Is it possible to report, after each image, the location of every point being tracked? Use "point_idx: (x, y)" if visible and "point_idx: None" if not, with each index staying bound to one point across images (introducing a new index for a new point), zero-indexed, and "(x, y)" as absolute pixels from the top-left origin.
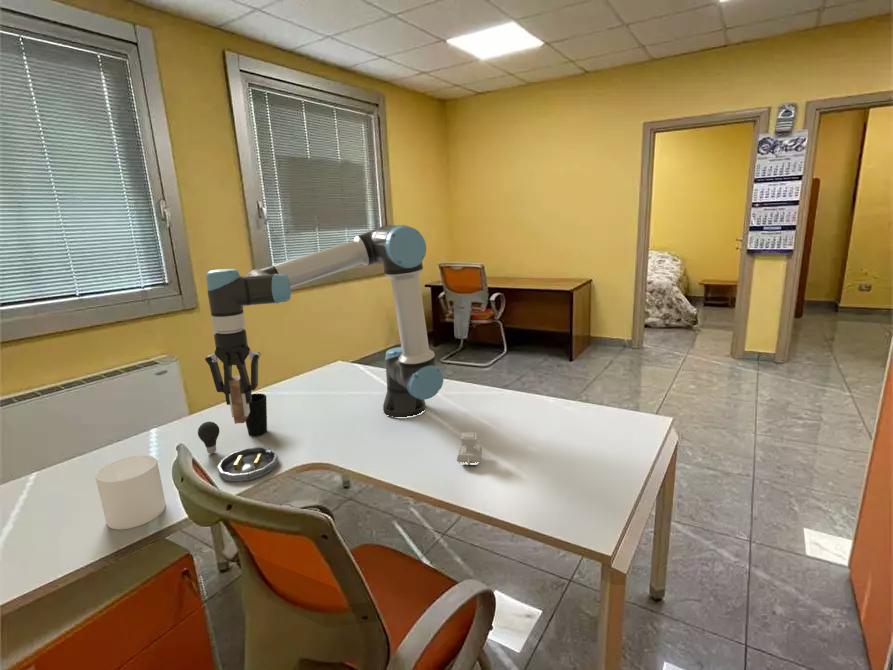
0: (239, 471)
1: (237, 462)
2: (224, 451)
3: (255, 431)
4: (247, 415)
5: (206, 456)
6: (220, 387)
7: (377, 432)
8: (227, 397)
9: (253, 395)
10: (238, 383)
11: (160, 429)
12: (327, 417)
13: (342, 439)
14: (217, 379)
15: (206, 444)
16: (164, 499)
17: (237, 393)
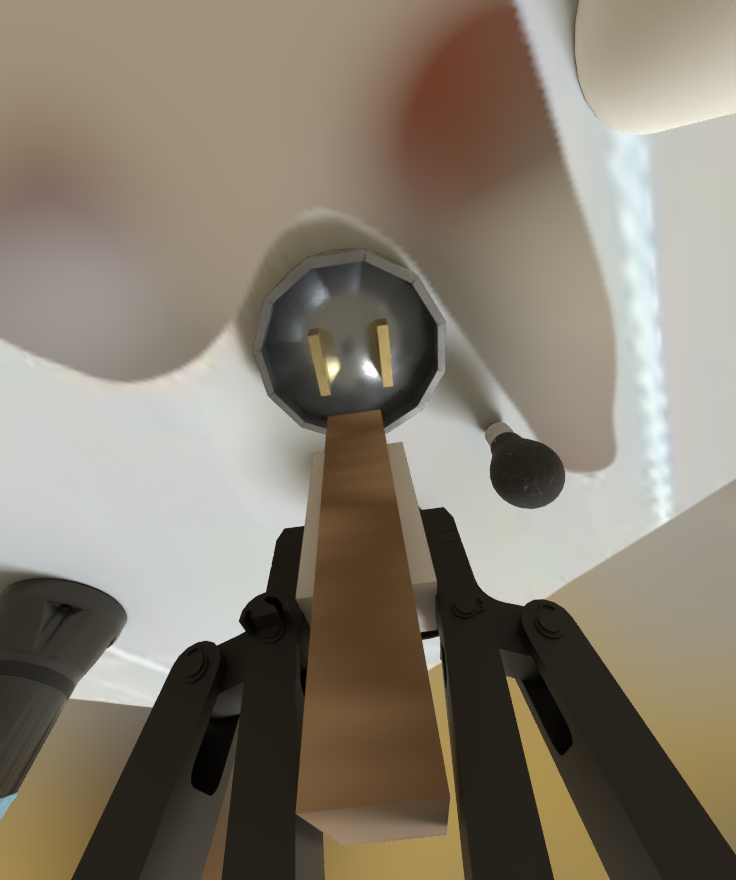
0: (365, 310)
1: (379, 338)
2: (462, 438)
3: None
4: (314, 460)
5: (506, 414)
6: (543, 659)
7: (61, 525)
8: (451, 558)
9: (431, 632)
10: (306, 741)
11: (649, 529)
12: (253, 579)
13: (142, 493)
14: (639, 809)
15: (517, 436)
16: (593, 44)
17: (340, 590)
